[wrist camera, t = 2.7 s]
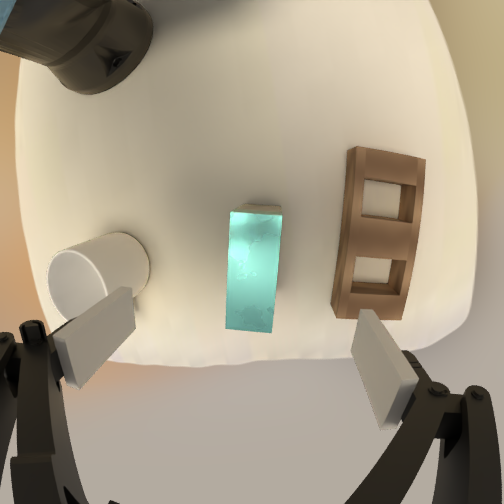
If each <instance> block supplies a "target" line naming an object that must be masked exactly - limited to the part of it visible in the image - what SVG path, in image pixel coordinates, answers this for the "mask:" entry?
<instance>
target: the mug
mask: <svg viewBox="0 0 504 504" xmlns="http://www.w3.org/2000/svg"><path fill="white" fill-rule="evenodd" d="M149 271H150V267H149V260H148V257H147V254H146V252H145V250H144V248H143V247H142V246H141V244H140V243H139V242H138V241H137V240H136V239H135V238H133V237H132V236H130V235H128V234H125V233H119V232H115V233H109V234H106V235H103V236H100V237H97V238H94V239H92V240H89V241H86V242H83V243H80V244H78V245H75V246H72V247H69V248H67V249H64V250H61V251H59V252H57V253H56V254H55V255H54V256H53V257H52V259H51V260H50V262H49V265H48V268H47V273H46V283H47V289H48V293H49V296H50V299H51V301H52V303H53V305H54V307H55V309H56V310H57V312H58V313H59V314H60V315H61V317H62V318H63V319H64V320H65V321H69V320H70V319H73V318H75V317H78V316H79V315H81V314H82V313H84V312H85V311H86V310H88V309H89V308H91V307H92V306H93V305H95V304H96V303H98V302H99V301H100V300H102V299H103V298H105V297H106V296H108V295H109V294H110V293H112V292H113V291H115V290H116V289H118V288H119V287H121V286H124V287H131V288H132V294H133V298H134V297H135V296H136V295H137V294H138V293H139V292H140V291H141V290H142V289H143V288H144V286H145V285H146V283H147V281H148V278H149Z"/></svg>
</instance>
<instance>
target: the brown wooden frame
mask: <svg viewBox="0 0 504 504" xmlns="http://www.w3.org/2000/svg"><path fill="white" fill-rule="evenodd" d="M425 164H426V159H421V158H417V157H412V156H408V155H403V154H398V153H393V152H388V151H382V150H377V149H371V148H365V147H358V146H356V147H354V148H352V149H350V150H348V151H347V166H346V180H345V193H344V204H343V214H342V224H341V233H340V241H339V250H338V257H337V265H336V272H335V279H334V285H333V291H332V298H331V306H332V309H333V311H334V314H335V316H336V318H340V319H358V318H359V313H360V309H372V310H373V311H374V312H375V313H376V315H377V316H378V318H379V319H380V320H401V319H402V315H403V311H404V307H405V303H406V299H407V295H408V290H409V286H410V281H411V276H412V271H413V266H414V261H415V255H416V249H417V243H418V237H419V229H420V222H421V214H422V205H423V194H424V181H425ZM364 179H366V180H373V181H379V182H386V183H392V184H398V185H401V197H400V207H399V216H398V219H395V218H388V217H380V216H372V215H363V214H361V211H362V201H363V190H364ZM356 256H359V257H371V258H382V259H392V264H391V270H390V275H389V280H388V284H381V283H365V282H352V278H353V272H354V266H355V259H356Z"/></svg>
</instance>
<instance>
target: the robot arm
mask: <svg viewBox="0 0 504 504" xmlns="http://www.w3.org/2000/svg"><path fill="white" fill-rule="evenodd" d="M152 34H153V23H152V19H151V17H150V15H149V14H148V12H147V11H146V10H145V9H144V8H143V7H142V6H141V5H140V4H139V3H137V2H135V1H133V0H0V51H3V52H6V53H9V54H12V55H16V56H18V57H22V58H25V59H28V60H31V61H34V62H37V63H40V64H42V65H45V66H47V67H48V68H49V69H50V70H51V71H52V73H53V74H54V75H55V76H56V77H57V78H58V79H59V80H60V82H61V83H62V84H63V85H64V86H65V87H66V88H68V89H70V90H72V91H75V92H78V93H80V94H96V93H99V92H102V91H105V90H107V89H109V88H111V87H113V86H114V85H116V84H117V83H119V82H120V81H122V80H123V79H124V78H125V77H126V76H127V75H129V74H130V73H131V72H132V71H133V69H134V68H135V67H136V66H137V65H138V64H139V62H140V61H141V59H142V58H143V56H144V55H145V53H146V51H147V49H148V47H149V45H150V42H151V39H152ZM19 329H20V333H21V337H22V340H23V343H16V342H15V339H14V336H13V334H12V333H9V332H2V333H0V485H1V479H2V474H3V469H4V464H5V459H6V455H7V451H8V446H9V442H10V439H11V435H12V431H13V428H14V424H15V420H16V418H17V453H18V455H17V457H12V458H11V460H10V469H11V481H12V490H13V497H14V504H89V503H88V501H87V499H86V497H85V494H84V491H83V488H82V485H81V482H80V479H79V474H78V471H77V467H76V464H75V459H74V455H73V451H72V447H71V442H70V437H69V432H68V427H67V421H66V416H65V410H64V402H63V395H62V386H61V383H60V379H61V378H62V377H63V376H64V378H65V381H66V384H67V386H70V387H72V388H75V389H77V390H80V389H81V388H82V387H83V386H84V384H85V383H86V382H87V381H88V380H89V379H90V378H91V377H92V375H93V374H94V373H95V372H96V371H97V370H98V369H99V368H100V367H101V366H102V365H103V363H104V362H105V361H106V360H107V359H108V358H109V357H110V356H111V355H112V354H113V353H114V352H115V350H116V349H117V348H118V347H119V346H120V345H121V344H122V343H123V342H124V341H125V340H126V339H127V338H128V337H129V335H130V334H131V333H132V332H133V331H134V330H135V329H136V326H135V316H134V306H133V294H132V288H131V287H124V286H121V287H119V288H118V289H116V290H115V291H113V292H112V293H110V294H109V295H108V296H106V297H105V298H103V299H102V300H100V301H99V302H98V303H96V304H95V305H93V306H92V307H91V308H89V309H88V310H86V311H85V312H84V313H82V314H81V315H79V316H78V317H75V318H73V319H70V320H69V321H67V322H66V323H65V324H64V325H62V326H60V327H59V328H58V329H56V330H55V331H54V332H52V333H51V334H49V335H48V336H46V332H45V327H44V324H43V322H42V321H39V320H30V321H26V322H24V323H22V324H21V325H20V327H19ZM351 353H352V355H353V358H354V360H355V363H356V366H357V368H358V371H359V373H360V376H361V379H362V381H363V384H364V387H365V389H366V392H367V395H368V398H369V400H370V403H371V405H372V408H373V411H374V414H375V417H376V420H377V423H378V426H379V428H380V430H388V429H396V428H397V426H398V424H399V422H400V420H402V422H403V423H402V425H401V426H400V428H399V430H398V431H397V433H396V435H395V436H394V438H393V439H392V441H391V443H390V444H389V445H388V447H387V449H386V450H385V452H384V453H383V454H382V456H381V457H380V459H379V460H378V462H377V463H376V464H375V466H374V467H373V469H372V470H371V471H370V473H369V474H368V475H367V477H366V478H365V479H364V480H363V482H362V483H361V484H360V485H359V487H358V488H357V489H356V490H355V492H354V493H353V494H352V495H351V496H350V498H349V499H348V500H347V501H346V502H345V504H400V503H401V502H402V500H403V498H404V497H405V495H406V493H407V491H408V490H409V488H410V486H411V484H412V483H413V480H414V479H415V477H416V475H417V473H418V471H419V469H420V467H421V465H422V463H423V461H424V459H425V457H426V455H427V453H428V451H429V448H430V446H431V444H432V442H433V439H434V438H437V439H440V451H439V461H438V470H437V477H436V484H435V491H434V496H433V501H432V504H502V482H501V465H500V454H499V444H498V436H497V429H496V423H495V417H494V412H493V407H492V402H491V397H490V394H489V392H488V391H487V390H486V389H485V388H483V387H481V386H477V385H476V386H475V385H472V386H469V387H468V388H467V389H466V390H465V392H464V394H463V395H460V394H450V391H449V389H448V388H447V387H446V386H445V385H443V384H441V383H439V382H432V380H431V379H430V377H429V376H428V374H427V373H426V371H425V370H424V369H423V368H422V366H421V364H420V363H419V362H418V360H417V359H416V357H415V356H414V355H413V354H412V353H410V352H409V351H407V350H400V348H399V347H398V345H397V344H396V342H395V341H394V339H393V338H392V337H391V335H390V334H389V332H388V331H387V329H386V328H385V326H384V325H383V323H382V322H381V321H380V319H379V318H378V316H377V315H376V313H375V312H374V311H373V310H372V309H360V313H359V318H358V322H357V327H356V331H355V335H354V340H353V344H352V348H351ZM108 504H119V503H117V502H114V501H111V500H110V501H109V503H108Z"/></svg>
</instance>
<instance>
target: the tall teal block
mask: <svg viewBox="0 0 504 504" xmlns="http://www.w3.org/2000/svg"><path fill="white" fill-rule="evenodd" d="M281 227H282V211H281V206H270V205H256V204H243V205H242V206H240V207H238V208H236V209H235V210H233V211H231V212H230V229H229V249H228V272H227V298H226V328H225V329H234V330H243V331H253V332H265V333H272V324H273V315H274V305H275V295H276V284H277V274H278V263H279V251H280V239H281Z"/></svg>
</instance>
